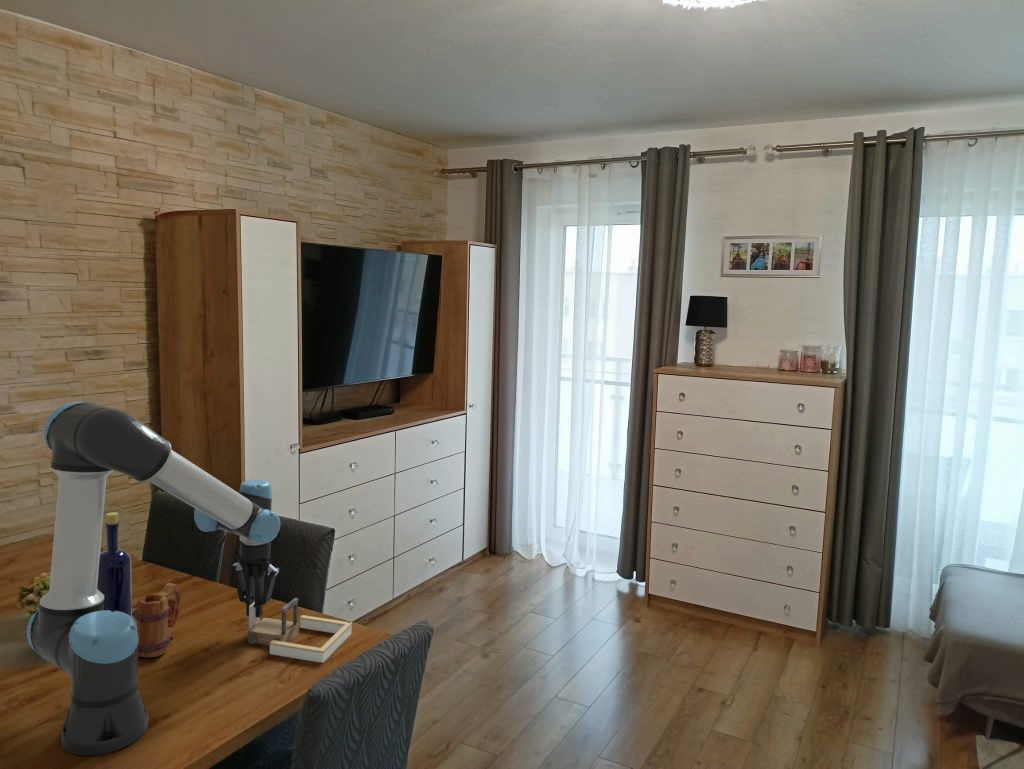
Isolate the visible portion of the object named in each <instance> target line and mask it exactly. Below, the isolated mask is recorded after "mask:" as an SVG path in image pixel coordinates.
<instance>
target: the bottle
mask: <svg viewBox="0 0 1024 769" xmlns="http://www.w3.org/2000/svg"><path fill="white" fill-rule="evenodd" d="M105 514H106V515H105V518H106V522H105V529H106V546H107V547H106V549H107V550H104V551H100V559H99V570H98V581H97V589H98V590H99V591H100V592H101V593H102V594H103V595H104V608H103V610H110V611H111V612H115V611H119V612H123V613H125V614H127V615H129V616H131V617H132V618H133V616H132V613H133V609H132V607H133V606H132V605H133V603H132V601H133V600H132V556H131V555H130V554H129V552H127V550H125V549H121V548H119V527H120V521H119V512H115V511H113V512H107V513H105Z"/></svg>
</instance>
